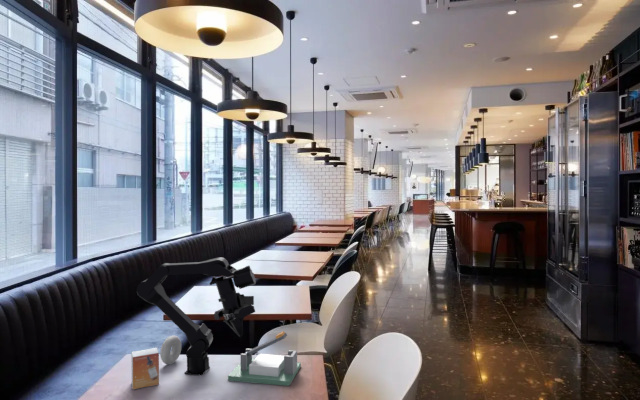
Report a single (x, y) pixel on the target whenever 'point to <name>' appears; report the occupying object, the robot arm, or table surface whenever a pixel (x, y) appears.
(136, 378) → the small box
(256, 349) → the strap
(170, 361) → the donut
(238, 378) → the board
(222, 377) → the table surface
